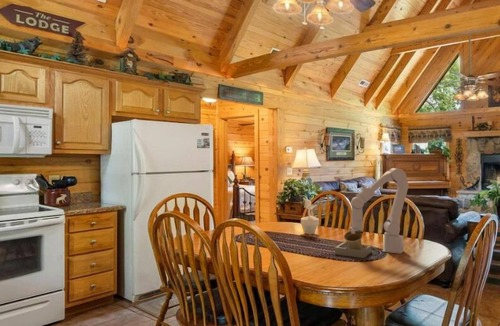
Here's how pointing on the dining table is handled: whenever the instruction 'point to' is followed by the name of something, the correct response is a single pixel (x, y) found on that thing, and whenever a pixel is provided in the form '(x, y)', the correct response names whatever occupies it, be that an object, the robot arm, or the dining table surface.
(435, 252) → the dining table surface
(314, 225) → the potted plant
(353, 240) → the flower pot
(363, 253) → the pot holder
